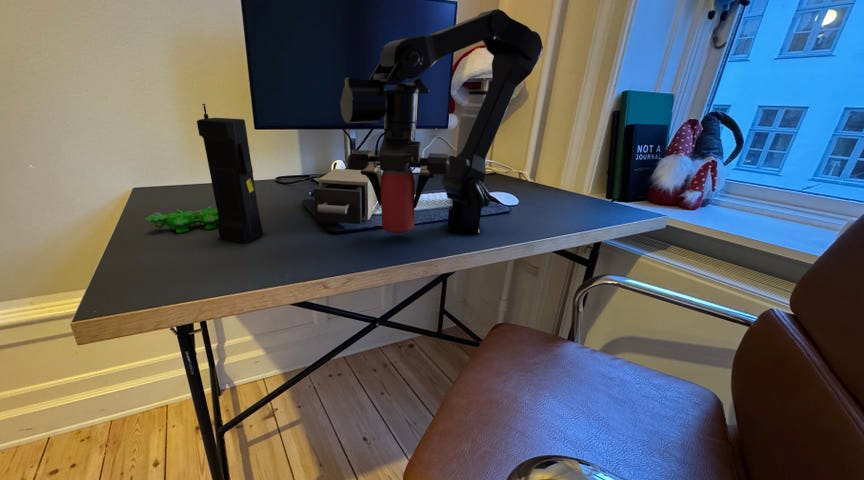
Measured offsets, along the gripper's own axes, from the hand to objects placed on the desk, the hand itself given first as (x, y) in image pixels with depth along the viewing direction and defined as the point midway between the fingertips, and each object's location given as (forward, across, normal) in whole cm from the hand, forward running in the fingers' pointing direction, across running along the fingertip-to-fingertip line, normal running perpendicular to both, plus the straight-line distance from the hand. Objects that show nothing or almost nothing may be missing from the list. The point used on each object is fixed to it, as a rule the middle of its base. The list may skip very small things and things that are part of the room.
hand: (397, 206), depth 72 cm
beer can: (+5, 0, 0) cm, 5 cm away
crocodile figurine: (+7, -44, -2) cm, 45 cm away
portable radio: (+7, -31, -5) cm, 32 cm away
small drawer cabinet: (+7, -14, +17) cm, 23 cm away
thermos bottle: (+8, +15, +32) cm, 36 cm away
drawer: (+6, -14, +9) cm, 18 cm away
